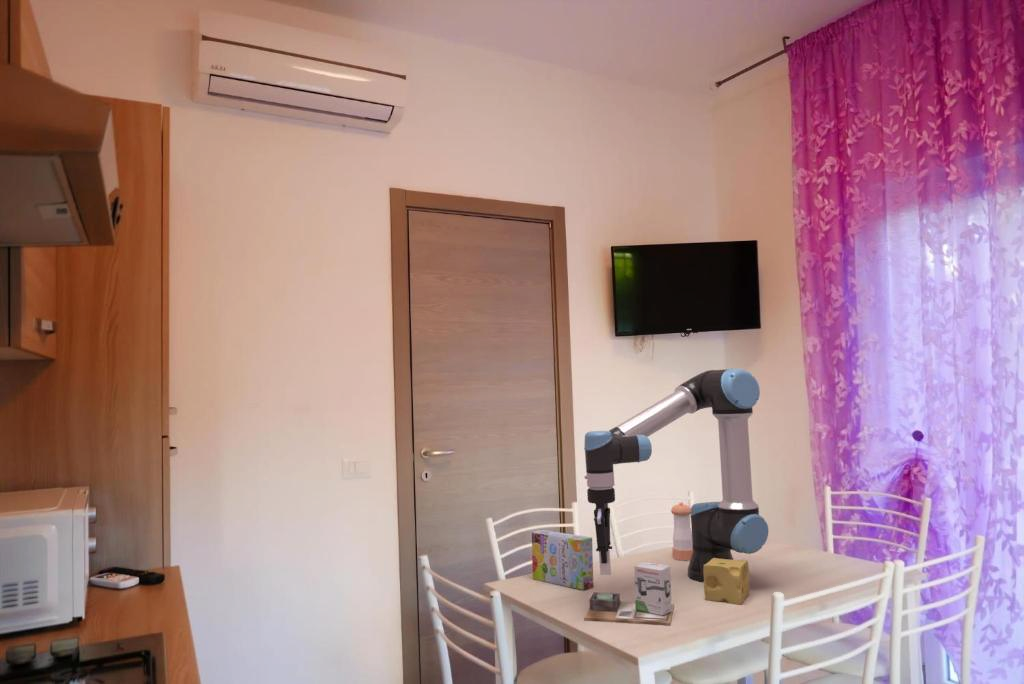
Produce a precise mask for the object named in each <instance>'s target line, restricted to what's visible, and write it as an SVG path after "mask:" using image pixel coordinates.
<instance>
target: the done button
mask: <svg viewBox="0 0 1024 684" xmlns="http://www.w3.org/2000/svg"><path fill="white" fill-rule="evenodd" d="M598 593H599V594H597V599H604V600H613V595H612V594H610V593H611V592H598Z"/></svg>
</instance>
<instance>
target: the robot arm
mask: <svg viewBox="0 0 1024 684" xmlns="http://www.w3.org/2000/svg"><path fill="white" fill-rule="evenodd" d="M760 393H761V391H760V385H759V382H758V380H757V379H756V377H755V376H753V375H752V373H750V372H749V371H747V370H745V369H740V368H739V369H738V368H729V369H710V370H709V369H708V370H706V371H703V372H701V373H699V374H697V375H694V376H693V377H691V378H690V379H688V380H686V381H684V382H683V383H681V384H680V385H678V386H676V387H675V388H674V392H673V393H670V394H669V395H667V396H665V397H664V398H662V399H661V400H659V401H656V402H655V403H654V404H652V405H650V406H648V407H647V408H645V409H643V410H642V411H639V412H638V413H637V414H635V415H633V416H632V417H629V418H628V419H626V420H625V421H623V422H621V423H620V424H617V426H615V427H613V428H611V429H609V430H595V431H594V430H593V431H592V430H591V431H587V432H586V433H585V435H584V448H583V450H584V455H585V472H586V475H584V479H585V480H586V487H588V488H587V489H586V493H587V495H586V496H587V501H588V503H589V504H594V505H595V509H594V510H593V515H594V518H593V521H594V525H595V536H596V545H597V546H596V547H597V548H596V549H595V551H596V552H598V555H599V557H598V558H599V575H600V576H611V574H612V571H611V569H612V567H611V553H610V552H611V551H610V550H612V549H613V546H611V521H610V519H611V517H610V516H611V508H610V507H609V505H608V504H612V503H615V501H616V494H615V490H616V489H615V488H614V486H615V471H614V465H619V464H621V465H622V464H629V463H630V464H632V463H641V462H645V461H646V462H647V461H648V460H650V458H651V456H652V452H653V451H652V449H653V447H652V443H651V440H650V439H649V437H650V436H651V435H653V434H654V433H657V432H658V431H660V430H661V429H663V428H664V427H667V426H668V425H670V424H672V423H673V422H675V421H676V420H678V419H680V418H681V417H683V416H685V415H687V414H690V415H691V414H694V413H696V412H698V411H700V410H702V409H708V408H711V412H712V416H714V417H715V418H716V420H717V426H718V439H719V457H720V475H721V490H722V492H721V493H722V500H721V501H709V502H708V501H706V502H698V503H694V504H692V505H691V507H690V508H691V514H690V528H691V533H692V547H693V551H692V555H691V559H690V560H689V563H688V566H687V577H688V578H689V579H691V580H694V581H698V582H703V583H704V573H703V569H704V565H705V564H706V563H708V562H709V561H710V560H711V559H713V558H718V559H728V560H735V559H734V557H733V555H732V552H731V551H734V552H737V553H739V554H748V555H750V554H754V553H757V552H758V551H760V550H762V548H763V546H764V545H765V544H766V542H767V540H768V537H769V525H768V523H767V521H766V520H765V518H764V517H763V516H762V515H760V510H759V509H760V508H759V504H758V503H757V502H755V500H754V499H753V481H752V468H751V466H752V465H751V452H750V451H751V450H750V434H749V433H750V432H749V418H750V417H752V415H753V412H754V411H753V407H754V406H755V405H756V404H757V402H758V401H759V398H760Z"/></svg>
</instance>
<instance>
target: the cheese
mask: <svg viewBox="0 0 1024 684" xmlns="http://www.w3.org/2000/svg"><path fill="white" fill-rule="evenodd" d="M703 573H704V582H703V591H704V598H705V601H711V602H727V603H728V604H734V605H738V606H739V605H742V603H743V601H745V600H746V599H747V598H748V597H749V592H750V569H749V561H748V560H747V559H746V560H744V559H734V560H728V559H718V558H713V559H711V560H710V561H709V562H708V563H706V564H705V565H704V569H703Z"/></svg>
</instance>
